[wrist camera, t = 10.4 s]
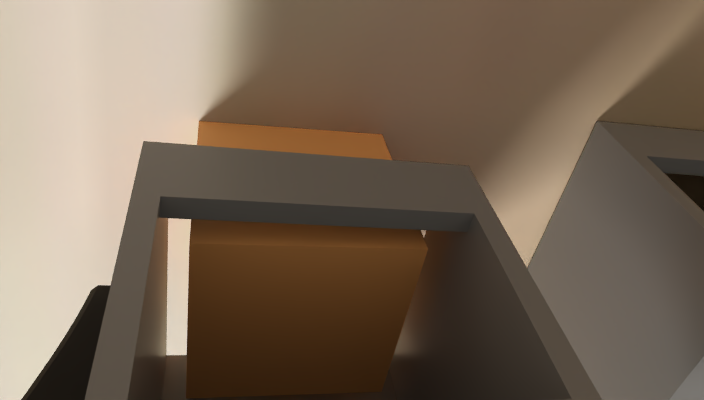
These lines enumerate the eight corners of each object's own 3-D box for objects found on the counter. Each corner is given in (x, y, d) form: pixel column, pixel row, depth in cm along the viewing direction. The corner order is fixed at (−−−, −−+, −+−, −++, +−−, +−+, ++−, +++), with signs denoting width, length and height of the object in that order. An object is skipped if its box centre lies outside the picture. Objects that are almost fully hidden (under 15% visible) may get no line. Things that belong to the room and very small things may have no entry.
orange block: (199, 119, 13) (189, 243, 9) (381, 132, 13) (428, 248, 10) (194, 260, 15) (186, 398, 12) (350, 263, 16) (381, 391, 13)
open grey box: (143, 141, 10) (73, 450, 5) (467, 165, 11) (617, 427, 7) (146, 367, 13) (104, 672, 9) (397, 365, 14) (468, 627, 10)
